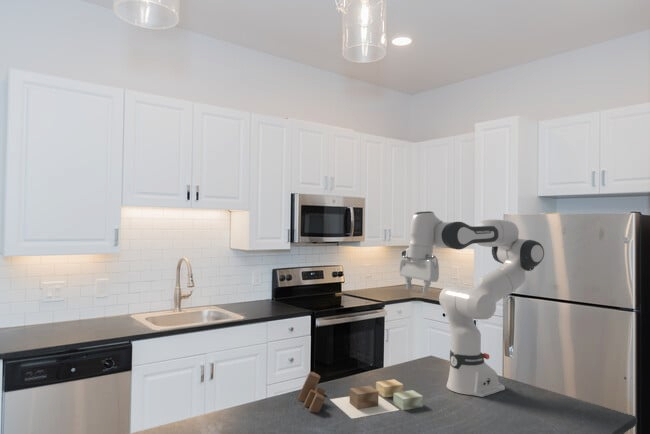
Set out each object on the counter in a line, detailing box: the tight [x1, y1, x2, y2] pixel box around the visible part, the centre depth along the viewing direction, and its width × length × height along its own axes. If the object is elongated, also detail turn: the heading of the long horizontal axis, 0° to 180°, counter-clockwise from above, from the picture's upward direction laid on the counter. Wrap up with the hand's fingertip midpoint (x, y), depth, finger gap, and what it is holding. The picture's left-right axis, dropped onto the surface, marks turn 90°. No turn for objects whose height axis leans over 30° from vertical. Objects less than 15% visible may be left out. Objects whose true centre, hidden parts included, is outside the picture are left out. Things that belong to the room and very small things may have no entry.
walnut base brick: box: [349, 385, 380, 410], centre depth 154 cm, size 8×6×5 cm
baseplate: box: [329, 394, 400, 420], centre depth 154 cm, size 18×17×1 cm
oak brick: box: [375, 378, 404, 399], centre depth 165 cm, size 8×6×5 cm
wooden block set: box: [297, 371, 326, 413], centre depth 156 cm, size 18×9×10 cm, turn 1°
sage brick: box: [392, 389, 424, 411], centre depth 154 cm, size 8×6×5 cm
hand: (416, 291), depth 165 cm, fingers open, 8 cm apart
